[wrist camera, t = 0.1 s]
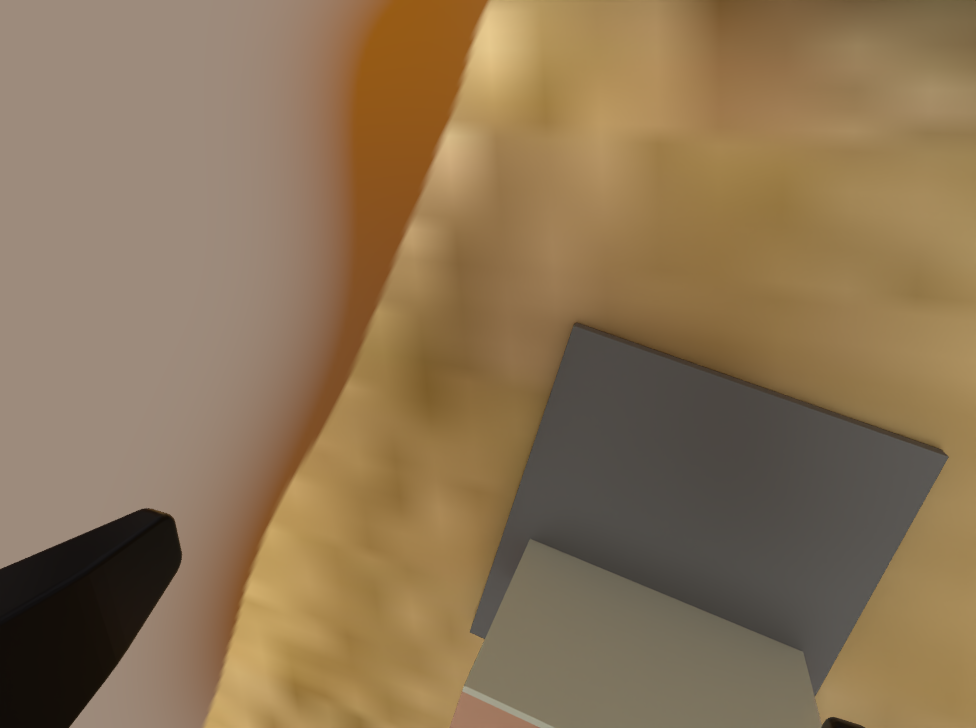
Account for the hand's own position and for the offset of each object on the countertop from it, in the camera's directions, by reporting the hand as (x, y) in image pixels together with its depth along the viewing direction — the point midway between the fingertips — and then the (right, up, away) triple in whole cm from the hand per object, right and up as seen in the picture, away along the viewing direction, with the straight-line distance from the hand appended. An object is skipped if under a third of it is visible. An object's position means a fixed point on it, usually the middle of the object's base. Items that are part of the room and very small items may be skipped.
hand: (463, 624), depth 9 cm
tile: (+6, -6, +16) cm, 18 cm away
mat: (+7, -3, +15) cm, 17 cm away
